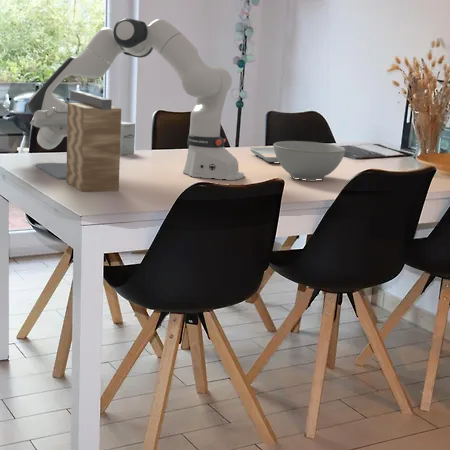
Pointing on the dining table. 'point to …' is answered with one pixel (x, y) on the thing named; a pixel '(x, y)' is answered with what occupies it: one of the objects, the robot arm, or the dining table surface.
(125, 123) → the supplement box
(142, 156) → the dining table surface
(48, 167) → the mat
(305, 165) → the decorative bowl
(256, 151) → the square plate
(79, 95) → the bar
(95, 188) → the pedestal
